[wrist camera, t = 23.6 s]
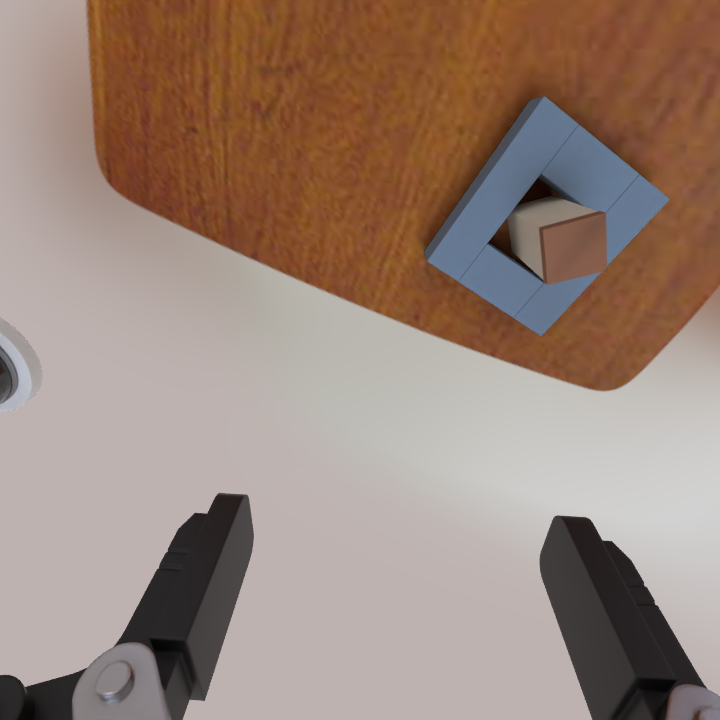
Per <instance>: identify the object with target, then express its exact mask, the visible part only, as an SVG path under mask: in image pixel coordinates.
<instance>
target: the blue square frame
mask: <svg viewBox="0 0 720 720" xmlns="http://www.w3.org/2000/svg"><path fill="white" fill-rule="evenodd" d="M537 178H539V179H540V180H541V181H542V182H544V183H545V184H546V185H548V186H549V187H550V188H552V189H553V190H554V191H556V192H557V193H558V194H560V195H561V196H562V197H563V198H565V199H566V200H567V201H570V202H573V203H576V204H579V205H581V206H584V207H587V208H590V209H593V210H596V211H602V212H605V213H606V237H607V266H608V265H609V263H610V262H611V261H612V260H613V259H614V258H615V257H616V256H617V255H618V254H619V253H620V252H621V251H622V250H623V249H624V247H625V246H626V245H627V244H628V243H629V242H630V241H631V240H632V239H633V238H634V237H635V236H636V235H637V234H638V233H639V231H640V230H641V229H642V228H643V227H644V226H645V225H646V224H647V223H648V222H649V221H650V220H651V219H652V218H653V217H654V216H655V214H656V213H657V212H658V211H659V210H660V209H661V208H662V207H663V206H664V205H665V204H666V203H667V202H668V201H669V198H668V197H667V196H666V195H665V194H663V193H662V192H661V191H660V190H658V189H657V188H656V187H655V186H654V185H652V184H651V183H650V182H649V181H648V180H646V179H645V178H644V177H643V176H641V175H640V174H639V173H638V172H637V171H635V170H634V169H633V168H632V167H630V166H629V165H628V164H627V163H626V162H624V161H623V160H622V159H621V158H619V157H618V156H617V155H616V154H615V153H613V152H612V151H611V150H610V149H609V148H607V147H606V146H605V145H604V144H602V143H601V142H600V141H599V140H598V139H596V138H595V137H594V136H593V135H591V134H590V133H589V132H588V131H587V130H585V129H584V128H583V127H582V126H580V125H578V123H577V122H576V121H574V120H573V119H572V118H571V117H570V116H568V115H567V114H566V113H565V112H563V111H562V110H561V109H560V108H559V107H557V106H556V105H555V104H554V103H553V102H551V101H550V100H549V99H548V98H546V97H545V96H543V97H539V98H535V99H531V100H530V101H529V102H528V104H527V105H526V107H525V108H524V109H523V111H522V112H521V114H520V115H519V117H518V118H517V119H516V121H515V122H514V124H513V125H512V127H511V128H510V129H509V131H508V132H507V134H506V135H505V137H504V138H503V139H502V141H501V142H500V144H499V145H498V147H497V148H496V149H495V151H494V152H493V154H492V155H491V157H490V158H489V160H488V161H487V162H486V164H485V165H484V167H483V168H482V170H481V171H480V172H479V174H478V175H477V177H476V178H475V180H474V181H473V182H472V184H471V185H470V187H469V188H468V190H467V191H466V192H465V194H464V195H463V197H462V198H461V200H460V201H459V202H458V204H457V205H456V207H455V208H454V210H453V211H452V212H451V214H450V215H449V217H448V218H447V220H446V221H445V222H444V224H443V225H442V227H441V228H440V230H439V231H438V233H437V234H436V235H435V237H434V238H433V240H432V241H431V243H430V244H429V245H428V247H427V248H426V250H425V251H424V254H425V256H426V259H427V262H429V263H430V264H432V265H434V266H435V267H437V268H438V269H440V270H441V271H443V272H444V273H446V274H447V275H449V276H450V277H452V278H453V279H455V280H456V281H458V282H459V283H461V284H462V285H464V286H465V287H467V288H469V289H470V290H472V291H473V292H475V293H476V294H478V295H479V296H481V297H482V298H484V299H485V300H487V301H488V302H490V303H491V304H493V305H494V306H496V307H497V308H499V309H501V310H502V311H504V312H505V313H507V314H508V315H510V316H511V317H513V318H514V319H516V320H517V321H519V322H520V323H522V324H523V325H525V326H526V327H528V328H530V329H531V330H533V331H534V332H536V333H537V334H539V335H540V336H542V335H543V334H544V333H545V332H546V331H547V329H548V328H549V327H550V326H551V325H552V324H553V323H554V322H555V321H556V320H557V319H558V318H559V317H560V316H561V315H562V314H563V312H564V311H565V310H566V309H567V308H568V307H569V306H570V305H571V304H572V303H573V302H574V301H575V300H576V299H577V298H578V296H579V295H580V294H581V293H582V292H583V291H584V290H585V289H586V288H587V287H588V286H589V285H590V284H591V283H592V282H593V280H594V279H595V278H596V277H597V276H598V275H599V274H600V273H601V272H599V273H595V274H591V275H587V276H583V277H579V278H575V279H571V280H567V281H563V282H558V283H554V284H550V285H547V284H546V283H545V282H544V280H543V279H542V278H541V277H540V276H538V275H537V274H536V273H535V272H533V273H532V272H531V271H530V270H528V269H527V268H525V267H524V266H523V265H521V264H520V263H518V262H517V261H515V260H514V259H512V258H511V257H510V256H508V255H507V254H505V253H504V252H502V251H501V250H500V249H498V248H497V247H495V246H494V245H492V244H491V243H489V240H490V239H491V238H492V237H493V235H494V234H495V233H496V231H497V230H498V229H499V227H500V226H501V225H502V224H503V222H504V221H505V220H506V218H507V217H508V216H509V214H510V213H511V212H512V211H513V209H514V208H515V207H516V205H517V204H518V203H519V201H520V200H521V199H522V198H523V196H524V195H525V194H526V192H527V191H528V190H529V188H530V187H531V186H532V185H533V183H534V182H535V181H536V179H537Z"/></svg>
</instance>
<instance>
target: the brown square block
mask: <svg viewBox="0 0 720 720" xmlns="http://www.w3.org/2000/svg"><path fill="white" fill-rule="evenodd" d="M507 220H508V228H509V236H510V244H511V251H512V252H513V253H514V254H515V255H516V256H517V257H518V258H520V259H521V260H522V261H523V262H524V263H525V264H526V265H527V266H528V267H530V268H531V269H532V270H533V271H534V272H535V273H536V274H537V275H538V276H540V277H541V278H542V279H543V280H544V282H545V283H546V284H547V285H550V284H554V283H558V282H563V281H567V280H571V279H575V278H579V277H583V276H587V275H591V274H595V273H599V272H603V271H607V237H606V213H605V212H602V211H596V210H593V209H590V208H587V207H584V206H581V205H579V204H576V203H573V202H570V201H567V200H564V199H561V198H558V197H556V196H553V195H551V196H548V197H544V198H541V199H537V200H534V201H530V202H527V203H523V204H520V205H516V207H515V208H514V209H513V211H512V212H511V213H510V214H509V216H508V217H507Z"/></svg>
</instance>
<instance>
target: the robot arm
mask: <svg viewBox="0 0 720 720" xmlns="http://www.w3.org/2000/svg"><path fill="white" fill-rule="evenodd" d="M17 387H18V374H17V371H16V368H15V366H14V364H13V362H12V360H11V359H10V357H9V356H8V354H7V353H6V352H5V351H4V350H3V349H2V348H1V347H0V404H2V403H4V402H5V401H7V400H8V399H9V398H11V397H12V396H13V395H14V394H15V392H16V390H17ZM253 540H254V534H253V525H252V518H251V510H250V504H249V498H248V496H247V495H242V494H226V493H219V494H217V496H216V497H215V499H214V501H213V503H212V505H211V507H210V509H209V511H208V514H203V513H194V514H193V515H192V516H191V517H190V518H189V519H188V521H186V522H185V523H184V524H183V525H182V526H181V527H180V528H179V529H178V531H177V533H176V535H175V537H174V539H173V540H172V542H171V544H170V546H169V548H168V552H167V553H166V554H165V555H164V557H163V559H162V561H161V563H160V566H159V569H157V571H156V572H155V574H154V576H153V578H152V580H151V582H150V584H149V586H148V588H147V590H146V591H145V593H144V595H143V597H142V599H141V601H140V603H139V605H138V607H137V608H136V610H135V612H134V614H133V616H132V618H131V620H130V622H129V624H128V626H127V628H126V629H125V631H124V633H123V635H122V636H121V638H120V639H119V641H118V642H117V643H116V645H115V646H114V647H113V648H111V649H109V650H108V651H106V652H104V653H103V654H102V655H100V656H99V657H98V658H97V659H95V660H94V661H93V662H92V663H91V664H90V666H89V667H88V668H85V669H83V670H81V671H79V672H76V673H73V674H70V675H67V676H63V677H60V678H56V679H52V680H49V681H45V682H42V683H38V684H35V685H31V686H27V687H24V685H23V684H22V683H21V681H20V680H18V679H17V678H16V677H14V676H10V675H0V720H183V717H184V714H185V711H186V708H187V705H188V702H189V700H201V701H202V700H203V701H205V698H206V695H207V692H208V689H209V686H210V682H211V679H212V676H213V673H214V670H215V667H216V663H217V661H218V657H219V654H220V651H221V648H222V645H223V642H224V639H225V636H226V632H227V629H228V626H229V623H230V620H231V617H232V614H233V611H234V608H235V604H236V601H237V598H238V595H239V592H240V589H241V586H242V583H243V579H244V576H245V573H246V570H247V567H248V564H249V561H250V557H251V553H252V547H253ZM540 571H541V576H542V580H543V582H544V585H545V588H546V591H547V594H548V596H549V599H550V602H551V605H552V608H553V610H554V613H555V616H556V619H557V621H558V624H559V627H560V630H561V632H562V636H563V638H564V641H565V644H566V647H567V650H568V652H569V655H570V658H571V661H572V664H573V666H574V669H575V672H576V675H577V678H578V680H579V683H580V686H581V689H582V691H583V694H584V697H585V700H586V703H587V706H588V708H589V711H590V714H591V717H592V720H720V696H718V695H717V694H715V693H714V692H712V691H710V690H708V689H707V688H706V686H705V685H704V684H703V682H702V681H701V679H700V677H699V676H698V674H697V672H696V671H695V669H694V667H693V666H692V664H691V662H690V660H689V659H688V657H687V655H686V654H685V652H684V650H683V649H682V647H681V645H680V643H679V642H678V640H677V638H676V636H675V635H674V633H673V631H672V630H671V628H670V626H669V625H668V623H667V621H666V619H665V618H664V616H663V614H662V613H661V611H660V609H659V607H658V606H657V605H655V603H654V599H653V597H652V595H651V594H650V592H649V590H648V588H647V587H645V586H644V582H643V580H642V578H641V577H640V575H639V573H638V571H637V570H636V568H635V566H634V565H633V563H632V561H631V560H630V559H629V558H628V557H627V556H626V555H625V554H624V553H623V552H622V551H621V550H620V549H619V548H618V547H617V546H616V545H615V544H614V543H613V542H612V541H602V539H601V537H600V535H599V534H598V532H597V530H596V528H595V526H594V525H593V523H592V522H591V520H590V519H588V518H586V517H571V516H555V517H554V518H553V520H552V523H551V526H550V528H549V531H548V534H547V537H546V539H545V542H544V545H543V548H542V550H541V554H540Z"/></svg>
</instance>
